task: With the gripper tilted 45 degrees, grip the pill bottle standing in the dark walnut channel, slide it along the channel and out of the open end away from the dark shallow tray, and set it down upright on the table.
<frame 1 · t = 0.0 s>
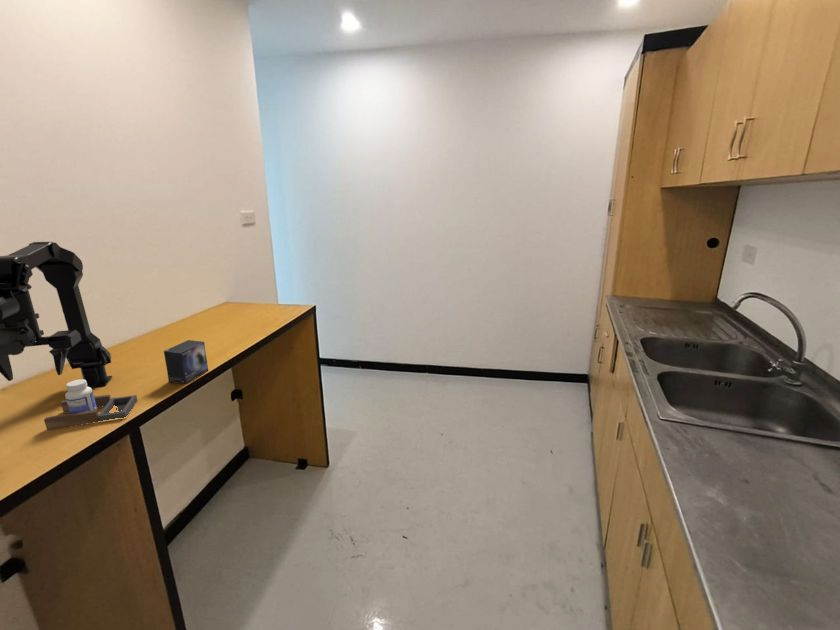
hand: (35, 377, 94), 15 cm above the counter, tool pointing down, fingers open, 9 cm apart
dark shallow tray: (119, 411, 108), on the counter
small box: (189, 377, 129), on the counter
pill bottle: (85, 416, 105), on the counter
walnut channel: (81, 416, 105), on the counter
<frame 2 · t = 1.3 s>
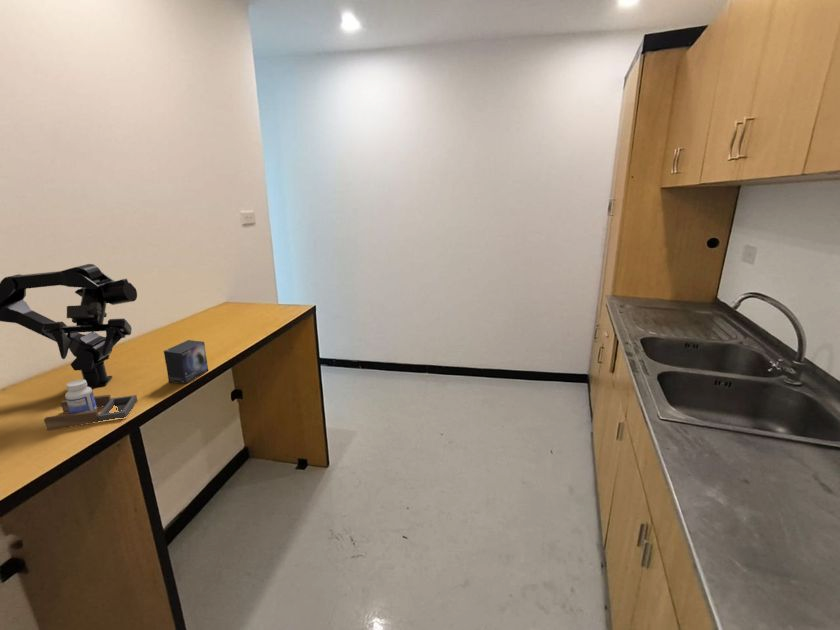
hand: (83, 357, 109), 14 cm above the counter, tool tilted 45°, fingers open, 9 cm apart
nothing on the counter moved.
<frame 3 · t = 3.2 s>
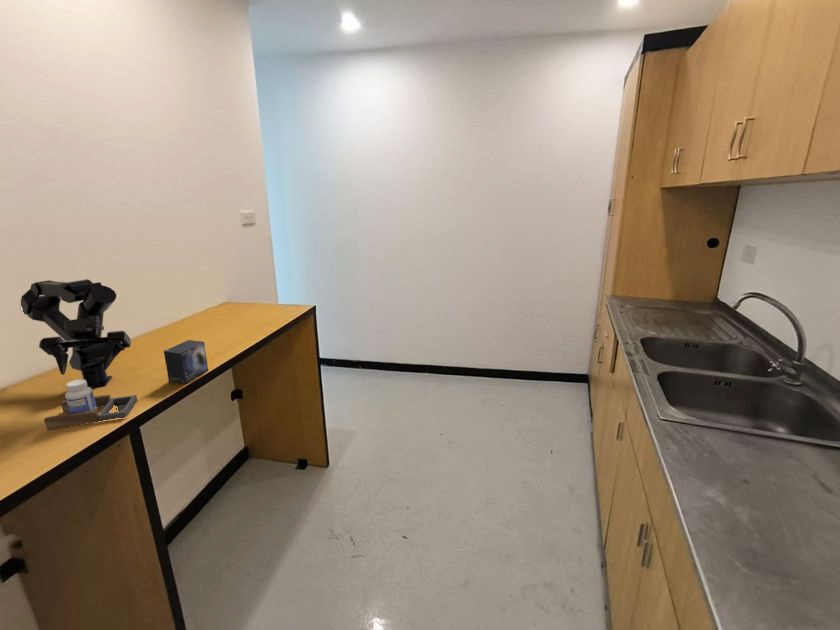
hand: (84, 371, 106), 11 cm above the counter, tool tilted 45°, fingers open, 9 cm apart
nothing on the counter moved.
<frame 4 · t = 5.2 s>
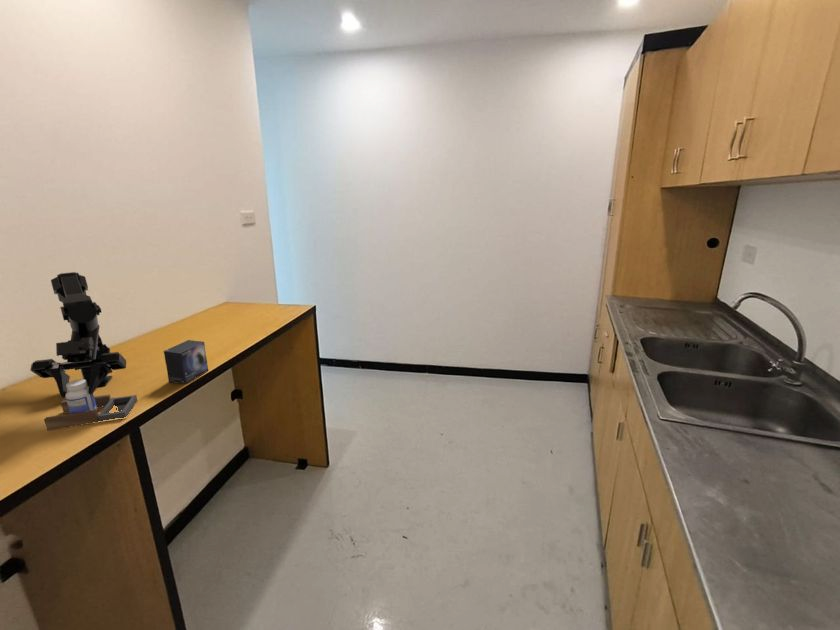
hand: (76, 395, 102), 7 cm above the counter, tool tilted 45°, fingers closed on pill bottle, 5 cm apart
pill bottle: (85, 416, 105), on the counter, touching gripper
everything else where it was.
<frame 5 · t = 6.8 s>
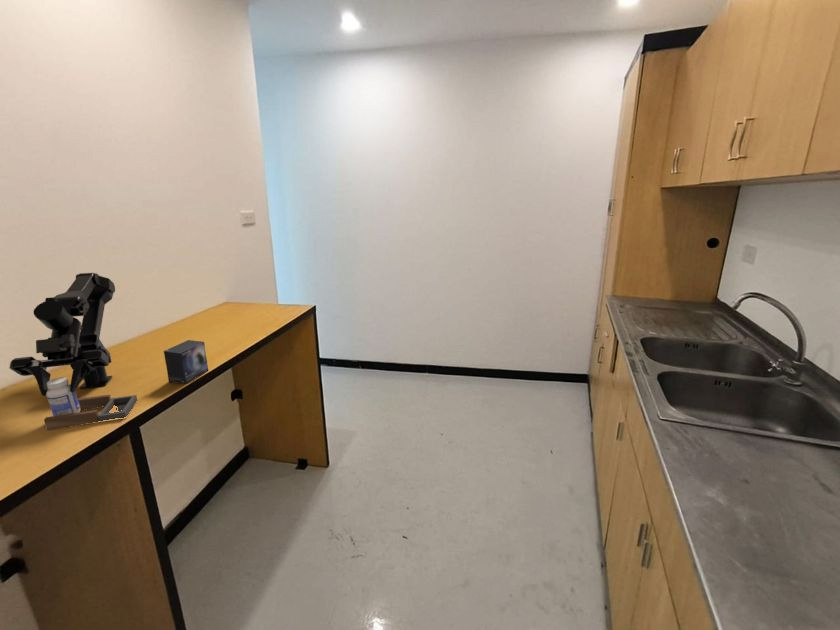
hand: (57, 393, 101), 8 cm above the counter, tool tilted 45°, fingers closed on pill bottle, 5 cm apart
pill bottle: (68, 414, 104), point 1 cm above the counter, touching gripper
everything else where it was.
when the fingers open (7 cm above the counter, at t = 8.4 s): pill bottle stays where it is, on the counter.
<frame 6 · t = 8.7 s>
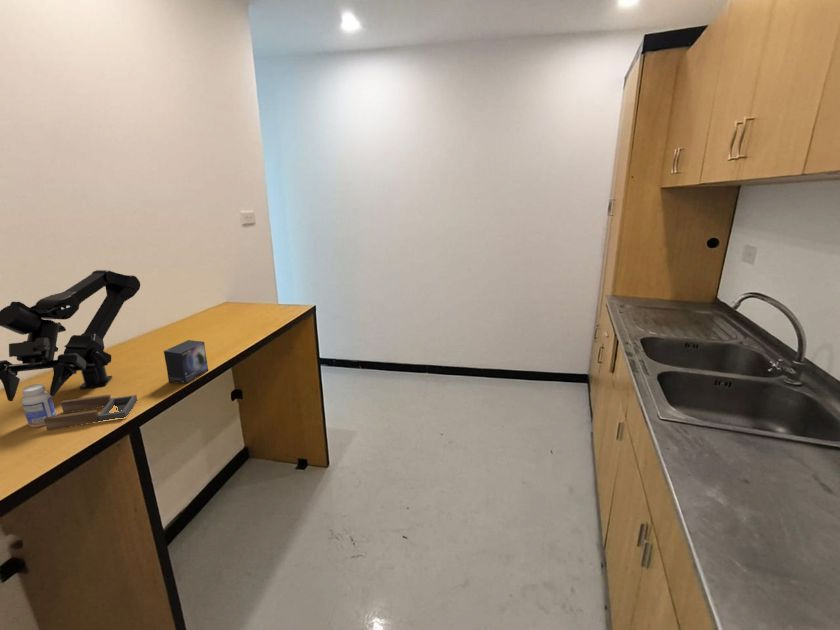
hand: (31, 398, 99), 8 cm above the counter, tool tilted 45°, fingers open, 8 cm apart
pill bottle: (43, 422, 103), on the counter
everything else where it was.
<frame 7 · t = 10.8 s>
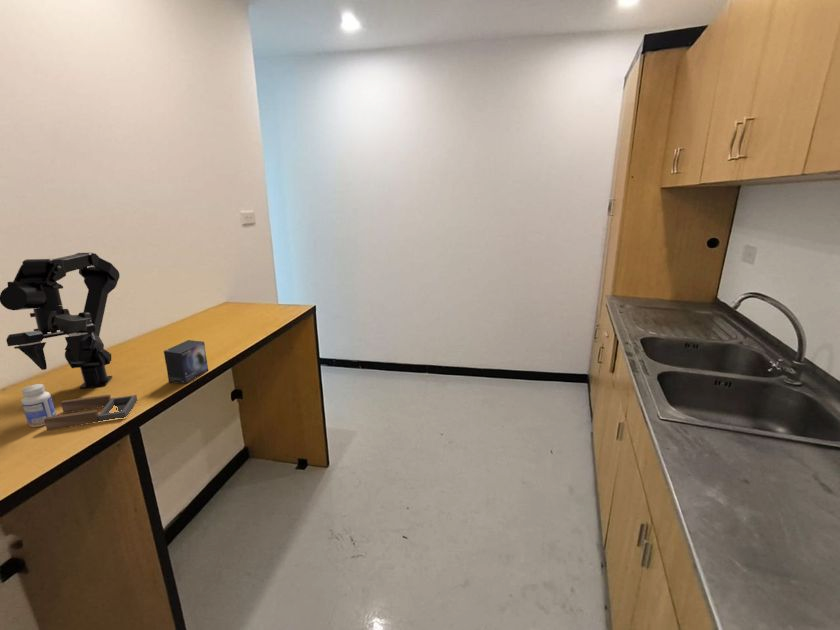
hand: (61, 365, 107), 12 cm above the counter, tool pointing down, fingers open, 9 cm apart
nothing on the counter moved.
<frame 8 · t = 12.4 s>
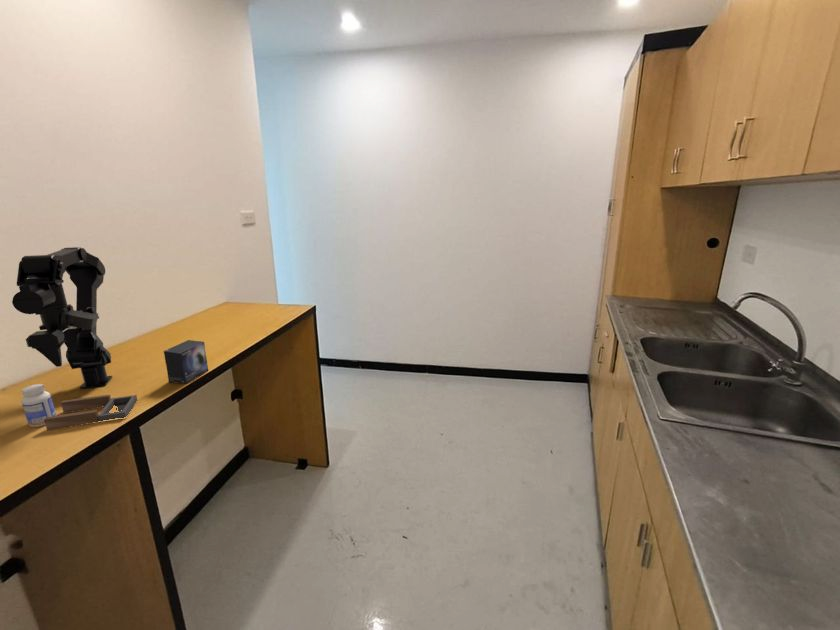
hand: (67, 359, 108), 13 cm above the counter, tool pointing down, fingers open, 9 cm apart
nothing on the counter moved.
at the end: pill bottle 1.6 cm from the target spot, on the counter; pill bottle tilted 0°; the gripper is holding nothing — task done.
